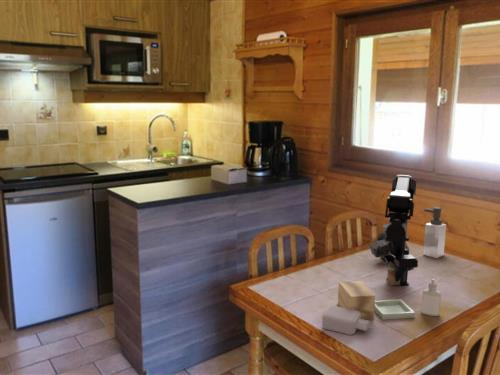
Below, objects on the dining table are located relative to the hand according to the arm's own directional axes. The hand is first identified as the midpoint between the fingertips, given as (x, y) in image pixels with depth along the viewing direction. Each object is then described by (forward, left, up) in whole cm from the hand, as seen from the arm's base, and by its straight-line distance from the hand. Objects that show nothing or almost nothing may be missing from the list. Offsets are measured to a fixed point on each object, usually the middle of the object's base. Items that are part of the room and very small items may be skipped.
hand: (394, 278), depth 151 cm
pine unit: (+12, -2, -12) cm, 17 cm away
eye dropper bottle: (-12, +3, -12) cm, 17 cm away
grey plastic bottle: (+18, +9, -12) cm, 23 cm away
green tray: (0, 0, -12) cm, 12 cm away
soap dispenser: (-43, -52, -12) cm, 68 cm away
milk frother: (-23, -45, -12) cm, 52 cm away
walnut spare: (0, 0, -2) cm, 2 cm away
